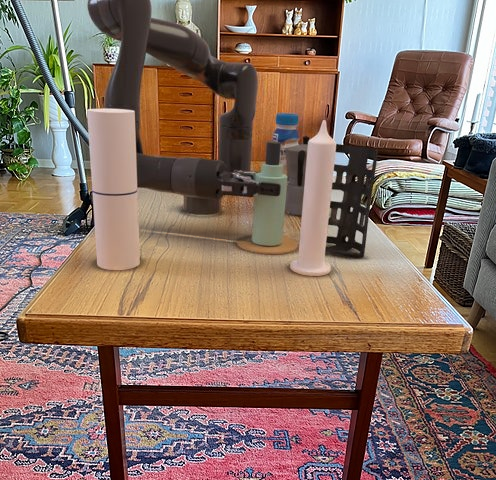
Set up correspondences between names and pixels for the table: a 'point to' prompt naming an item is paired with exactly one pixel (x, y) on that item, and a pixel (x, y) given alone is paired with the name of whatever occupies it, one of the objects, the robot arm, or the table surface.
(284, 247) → the coaster
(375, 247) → the table surface
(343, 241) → the holder
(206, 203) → the bottle holder
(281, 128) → the beverage bottle
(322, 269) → the candle
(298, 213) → the coffeepot
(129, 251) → the cylindrical container
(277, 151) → the bottle
